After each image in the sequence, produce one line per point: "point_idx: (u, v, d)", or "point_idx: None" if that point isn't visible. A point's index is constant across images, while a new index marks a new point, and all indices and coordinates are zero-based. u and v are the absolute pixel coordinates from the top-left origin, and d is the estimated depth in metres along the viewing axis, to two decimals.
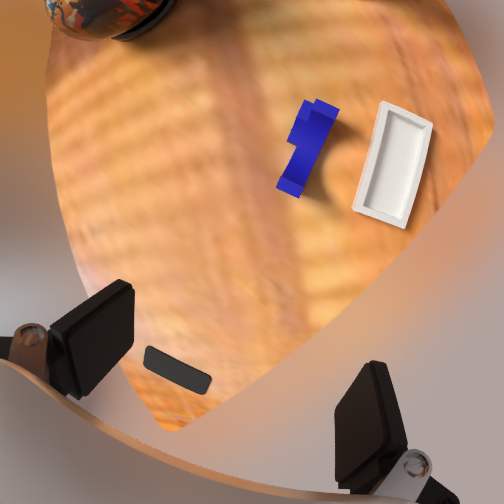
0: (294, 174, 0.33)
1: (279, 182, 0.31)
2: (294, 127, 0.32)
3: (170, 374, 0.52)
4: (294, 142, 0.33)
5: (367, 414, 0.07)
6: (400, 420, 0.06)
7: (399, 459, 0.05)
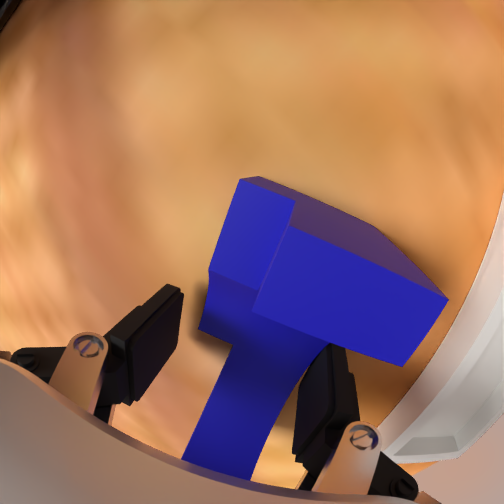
0: (225, 439, 0.09)
1: None
2: (213, 295, 0.09)
3: None
4: (223, 336, 0.10)
5: (319, 385, 0.08)
6: (349, 391, 0.07)
7: (344, 429, 0.06)
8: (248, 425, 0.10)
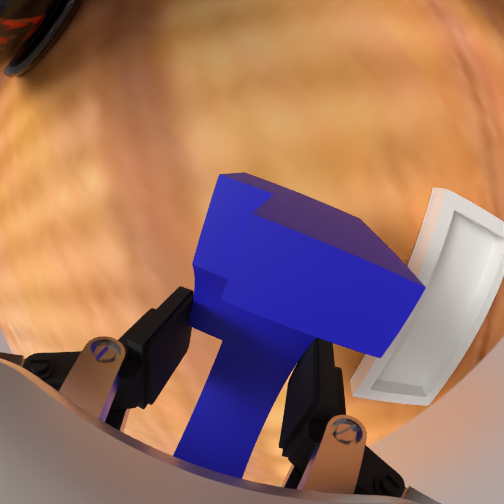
0: (217, 435, 0.09)
1: None
2: (200, 290, 0.09)
3: None
4: (212, 332, 0.10)
5: (305, 378, 0.08)
6: (333, 384, 0.07)
7: (328, 422, 0.06)
8: (240, 421, 0.10)
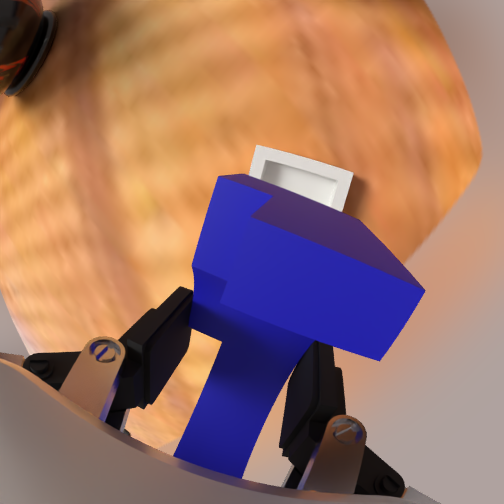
0: (216, 436, 0.09)
1: None
2: (200, 292, 0.09)
3: None
4: (211, 333, 0.10)
5: (305, 378, 0.08)
6: (333, 384, 0.07)
7: (328, 422, 0.06)
8: (239, 422, 0.10)
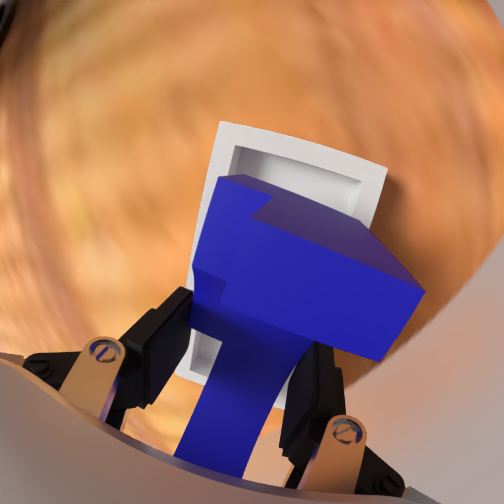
0: (216, 436, 0.09)
1: None
2: (199, 292, 0.09)
3: None
4: (211, 333, 0.10)
5: (305, 378, 0.08)
6: (333, 384, 0.07)
7: (328, 422, 0.06)
8: (239, 422, 0.10)
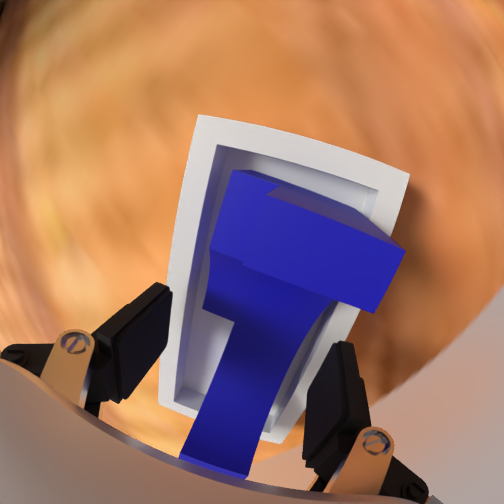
0: (229, 415, 0.11)
1: (181, 459, 0.09)
2: (214, 274, 0.10)
3: None
4: (224, 314, 0.11)
5: (330, 391, 0.08)
6: (360, 396, 0.07)
7: (357, 435, 0.05)
8: (251, 400, 0.11)
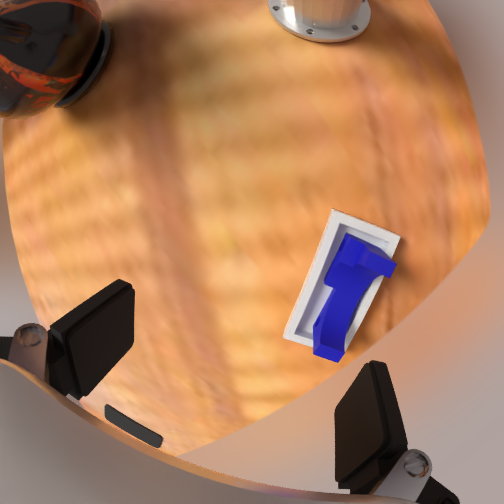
0: (333, 329, 0.28)
1: (318, 349, 0.26)
2: (334, 270, 0.28)
3: (128, 429, 0.48)
4: (333, 286, 0.29)
5: (367, 414, 0.07)
6: (400, 420, 0.06)
7: (399, 459, 0.05)
8: (340, 323, 0.28)
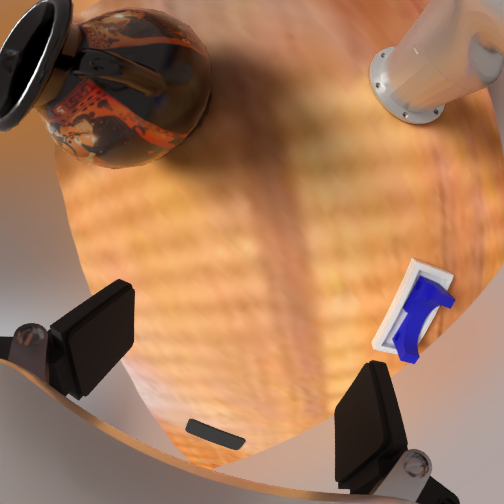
0: (410, 341, 0.36)
1: (404, 356, 0.34)
2: (413, 302, 0.35)
3: (210, 437, 0.57)
4: (410, 312, 0.36)
5: (367, 414, 0.07)
6: (400, 420, 0.06)
7: (399, 459, 0.05)
8: (414, 336, 0.36)
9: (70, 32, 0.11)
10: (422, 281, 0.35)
